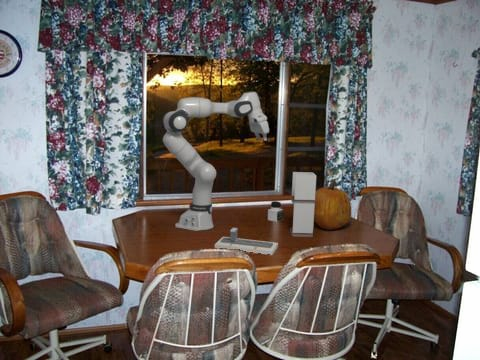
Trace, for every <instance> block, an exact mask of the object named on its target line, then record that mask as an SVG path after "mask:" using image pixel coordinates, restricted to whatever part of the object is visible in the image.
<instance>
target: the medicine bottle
mask: <svg viewBox="0 0 480 360" xmlns="http://www.w3.org/2000/svg"><path fill="white" fill-rule="evenodd" d="M270 203H271V204H270V209H269V208H268V210H267V221H271V222H275V223H278V222H281V221H283V219H284V209H282V208H281V207H282V202H280V201H278V200H273V201H271V202H270Z"/></svg>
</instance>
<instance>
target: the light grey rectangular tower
mask: <svg viewBox="0 0 480 360" xmlns="http://www.w3.org/2000/svg"><path fill="white" fill-rule="evenodd" d="M316 188H317V175H316V174H315V173H314V172H312V171H311V172H310V171H309V172H308V171H307V172H304V171H303V172H302V171H299V172H298V171H292V185H291V198H290V199H291V203H292V204H293V214H292V215H293V216H292V218H293V219H292V227H289V232H290V234H291V237H303V238H305V237H307V238H309V237H312V238H313V237H314V223H315V221H314V206H315V192H316V191H317V190H316Z"/></svg>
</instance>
